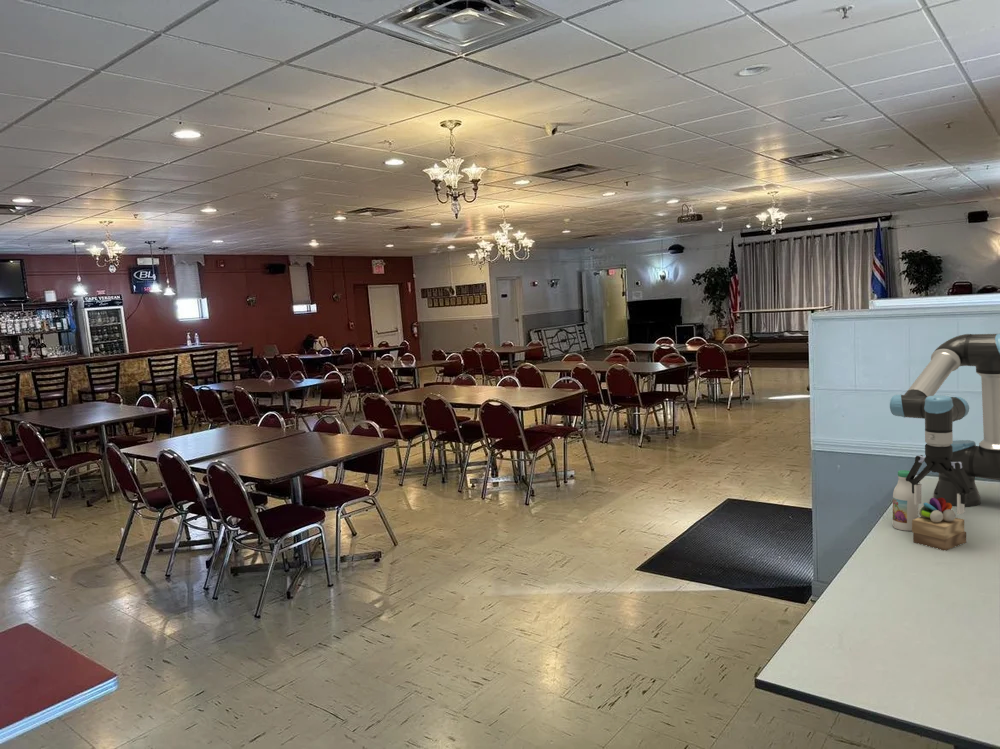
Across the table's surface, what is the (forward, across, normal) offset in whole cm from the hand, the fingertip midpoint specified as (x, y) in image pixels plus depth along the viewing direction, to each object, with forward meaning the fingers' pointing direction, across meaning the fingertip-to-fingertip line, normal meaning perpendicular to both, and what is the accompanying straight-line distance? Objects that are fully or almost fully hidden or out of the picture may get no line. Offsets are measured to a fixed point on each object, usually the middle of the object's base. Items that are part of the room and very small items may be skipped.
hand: (938, 508), depth 226 cm
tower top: (+8, 0, -1) cm, 8 cm away
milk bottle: (+11, -14, +5) cm, 19 cm away
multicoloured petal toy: (+4, 0, -1) cm, 4 cm away
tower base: (+12, +1, 0) cm, 12 cm away
